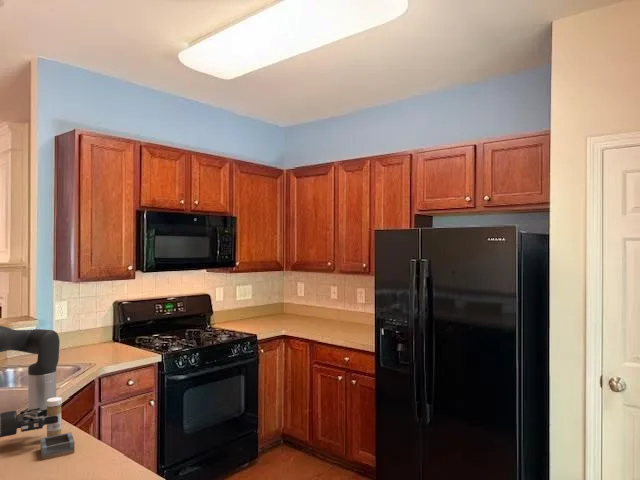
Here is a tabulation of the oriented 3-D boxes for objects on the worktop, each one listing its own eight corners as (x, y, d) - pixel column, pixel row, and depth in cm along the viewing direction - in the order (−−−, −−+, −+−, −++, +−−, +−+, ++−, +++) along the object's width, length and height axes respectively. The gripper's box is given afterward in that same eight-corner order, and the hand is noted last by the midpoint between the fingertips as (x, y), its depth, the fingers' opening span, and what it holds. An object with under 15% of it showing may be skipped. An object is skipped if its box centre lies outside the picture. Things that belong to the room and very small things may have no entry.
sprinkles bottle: (61, 434, 164) (61, 395, 164) (62, 439, 160) (62, 399, 160) (46, 437, 162) (46, 398, 162) (46, 442, 158) (46, 402, 158)
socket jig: (40, 449, 152) (40, 438, 152) (71, 442, 157) (71, 432, 157) (42, 459, 145) (42, 448, 145) (74, 452, 150) (74, 441, 150)
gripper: (-2, 420, 146) (58, 410, 155) (-1, 407, 158) (54, 398, 167) (-2, 444, 146) (58, 433, 155) (-1, 429, 158) (54, 419, 167)
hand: (56, 414), depth 161 cm, fingers open, 8 cm apart
